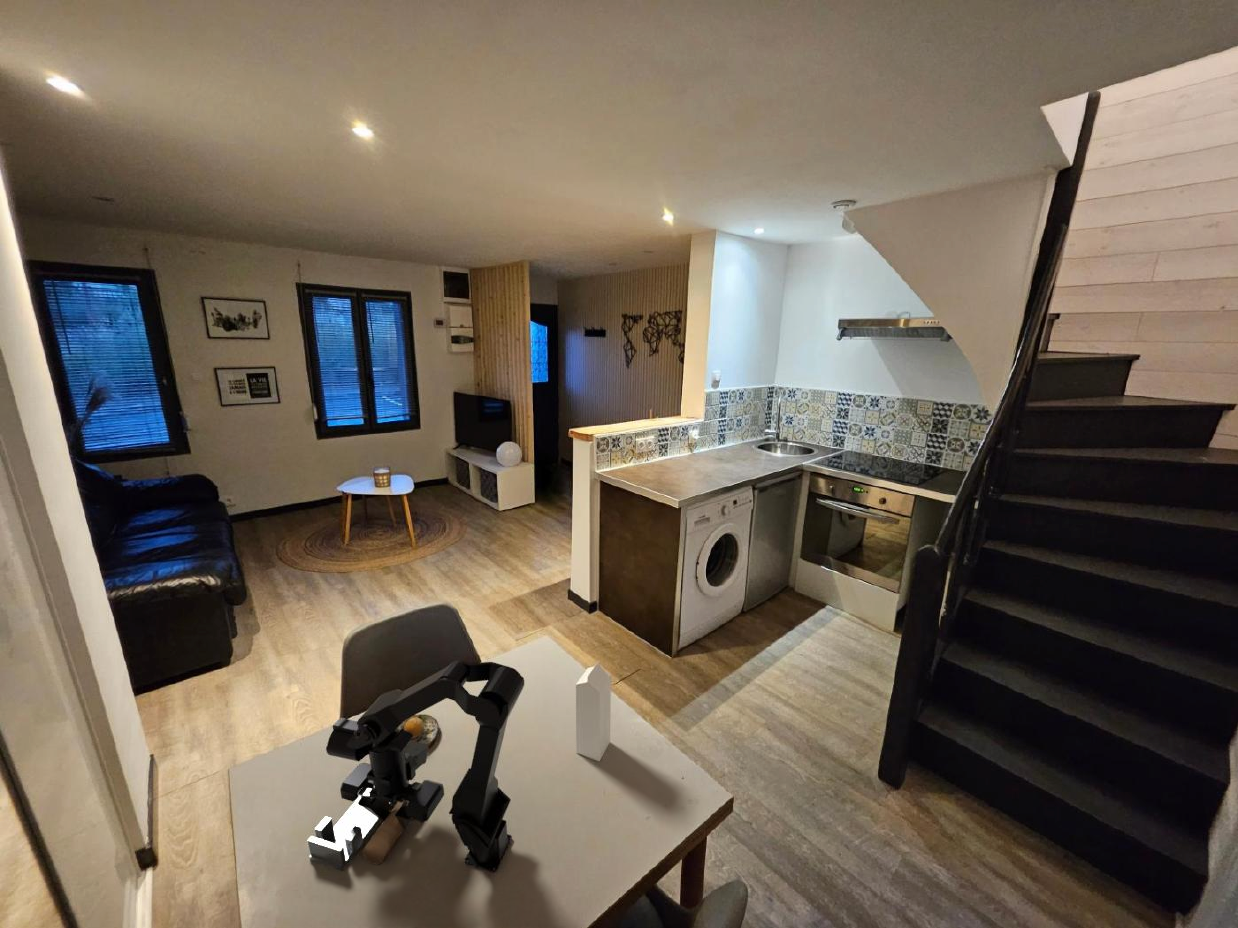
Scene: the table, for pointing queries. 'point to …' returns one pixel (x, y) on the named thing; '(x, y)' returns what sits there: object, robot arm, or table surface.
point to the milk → (593, 712)
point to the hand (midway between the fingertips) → (397, 823)
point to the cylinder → (384, 838)
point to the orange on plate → (422, 729)
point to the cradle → (342, 837)
